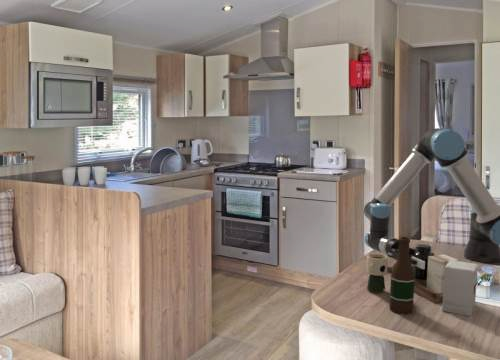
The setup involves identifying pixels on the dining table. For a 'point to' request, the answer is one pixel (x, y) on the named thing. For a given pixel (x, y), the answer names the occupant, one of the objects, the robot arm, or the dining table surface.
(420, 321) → the dining table surface
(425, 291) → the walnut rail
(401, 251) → the beer bottle
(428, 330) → the dining table surface
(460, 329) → the dining table surface
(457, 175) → the robot arm
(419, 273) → the supplement bottle
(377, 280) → the character mug
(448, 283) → the supplement box
